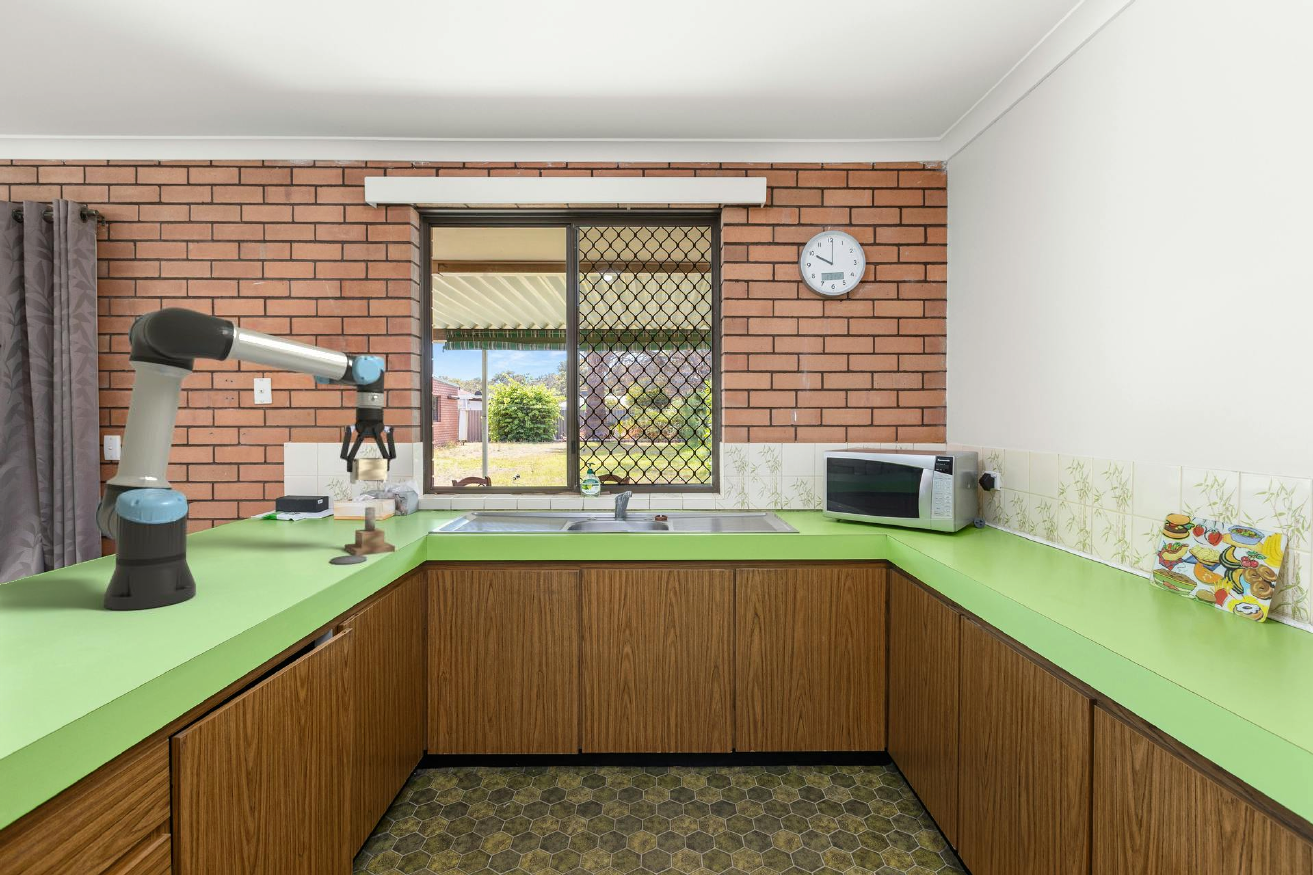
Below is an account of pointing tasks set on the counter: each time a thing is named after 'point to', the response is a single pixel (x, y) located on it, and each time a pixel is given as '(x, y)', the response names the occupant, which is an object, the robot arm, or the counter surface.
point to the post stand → (369, 538)
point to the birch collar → (371, 468)
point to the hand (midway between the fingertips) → (368, 482)
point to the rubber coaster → (348, 559)
